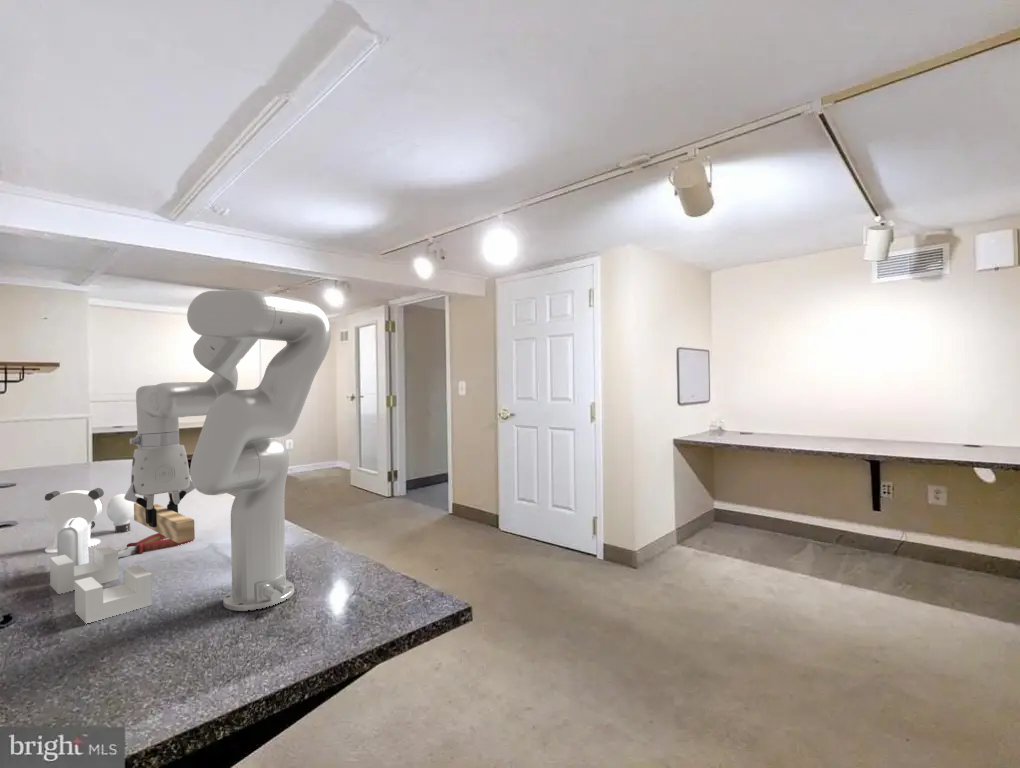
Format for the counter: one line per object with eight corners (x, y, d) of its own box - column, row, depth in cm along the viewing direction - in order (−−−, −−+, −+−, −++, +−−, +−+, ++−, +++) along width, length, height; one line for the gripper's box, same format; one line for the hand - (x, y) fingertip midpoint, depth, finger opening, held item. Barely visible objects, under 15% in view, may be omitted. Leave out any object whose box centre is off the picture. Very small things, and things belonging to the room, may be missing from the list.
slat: (194, 539, 104) (194, 519, 103) (178, 543, 101) (177, 523, 101) (149, 517, 121) (148, 500, 121) (134, 520, 119) (133, 503, 119)
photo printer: (67, 567, 119) (66, 515, 119) (91, 564, 121) (90, 512, 121) (55, 582, 110) (53, 525, 110) (80, 578, 112) (79, 522, 112)
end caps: (152, 604, 97) (151, 573, 97) (85, 624, 89) (85, 591, 89) (108, 571, 116) (107, 545, 116) (50, 585, 108) (49, 557, 108)
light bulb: (140, 529, 151) (139, 492, 151) (113, 535, 145) (112, 497, 145) (130, 526, 154) (129, 490, 154) (103, 532, 149) (102, 495, 149)
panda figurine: (110, 537, 143) (108, 484, 143) (93, 549, 133) (92, 492, 133) (57, 543, 139) (56, 488, 139) (35, 555, 129) (34, 497, 129)
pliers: (86, 561, 125) (86, 551, 125) (168, 538, 143) (168, 529, 143) (115, 567, 120) (114, 556, 120) (196, 542, 139) (196, 533, 139)
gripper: (118, 445, 103) (122, 536, 102) (206, 437, 115) (209, 517, 115) (108, 444, 107) (111, 531, 107) (193, 436, 120) (196, 514, 120)
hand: (162, 523), depth 111 cm, fingers closed on slat, 3 cm apart
